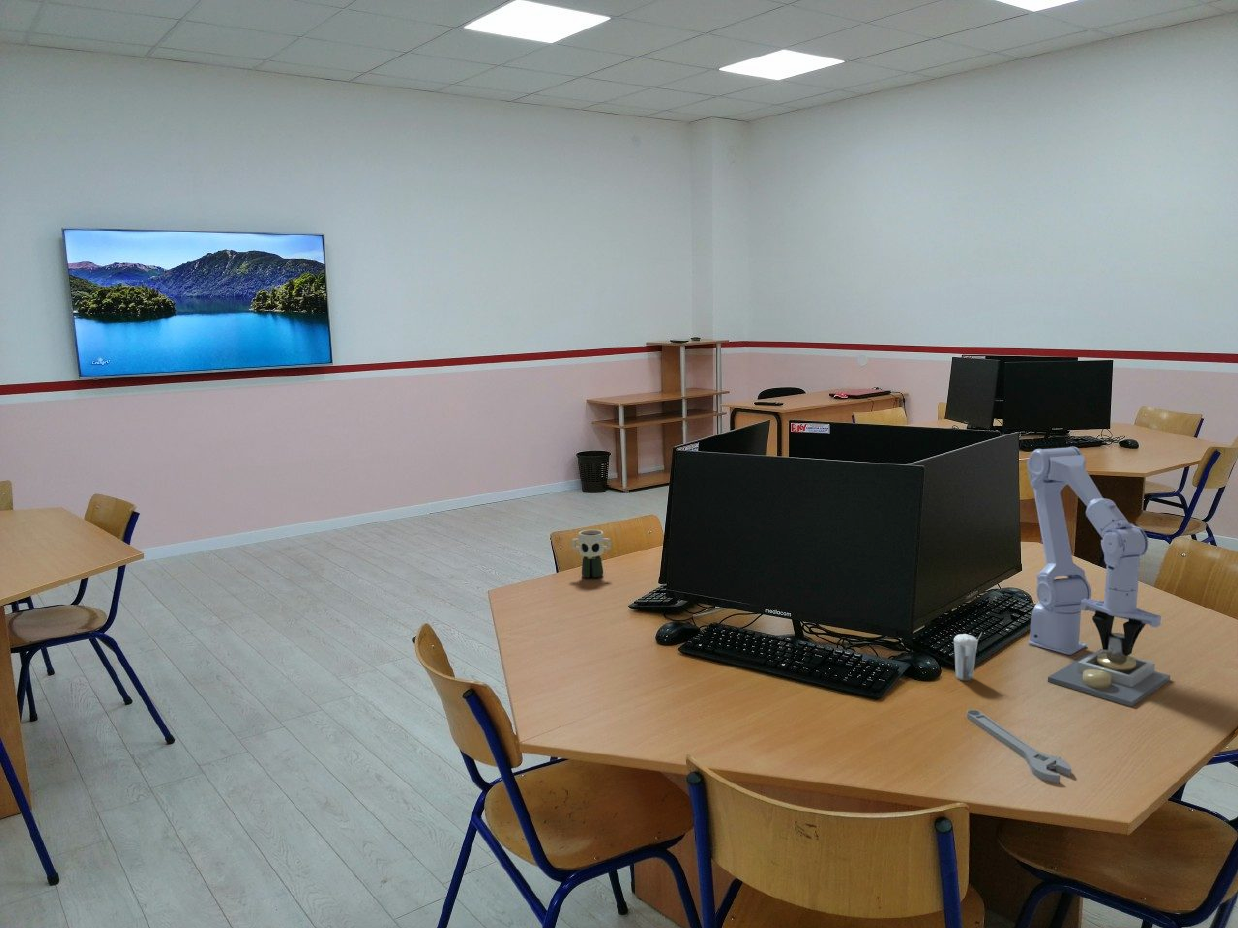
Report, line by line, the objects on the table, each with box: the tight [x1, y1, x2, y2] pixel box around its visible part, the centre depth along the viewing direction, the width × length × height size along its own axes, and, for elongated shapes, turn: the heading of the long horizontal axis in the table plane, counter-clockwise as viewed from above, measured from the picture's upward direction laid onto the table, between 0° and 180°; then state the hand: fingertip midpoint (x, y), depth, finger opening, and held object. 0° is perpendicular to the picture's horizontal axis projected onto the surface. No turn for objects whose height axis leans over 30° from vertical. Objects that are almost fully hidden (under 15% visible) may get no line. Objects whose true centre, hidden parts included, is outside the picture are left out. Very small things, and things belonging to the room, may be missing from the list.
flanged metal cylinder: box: [1097, 632, 1136, 672], centre depth 187 cm, size 7×7×6 cm
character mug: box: [572, 529, 611, 578], centre depth 266 cm, size 11×7×13 cm, turn 85°
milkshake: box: [953, 631, 983, 682], centre depth 189 cm, size 4×5×10 cm
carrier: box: [1047, 648, 1171, 708], centre depth 186 cm, size 16×18×3 cm
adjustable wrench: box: [966, 709, 1072, 784], centre depth 162 cm, size 25×6×2 cm, turn 9°
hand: (1117, 651), depth 187 cm, fingers closed on flanged metal cylinder, 3 cm apart
